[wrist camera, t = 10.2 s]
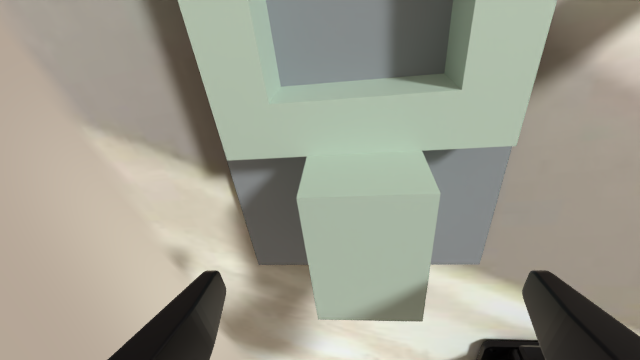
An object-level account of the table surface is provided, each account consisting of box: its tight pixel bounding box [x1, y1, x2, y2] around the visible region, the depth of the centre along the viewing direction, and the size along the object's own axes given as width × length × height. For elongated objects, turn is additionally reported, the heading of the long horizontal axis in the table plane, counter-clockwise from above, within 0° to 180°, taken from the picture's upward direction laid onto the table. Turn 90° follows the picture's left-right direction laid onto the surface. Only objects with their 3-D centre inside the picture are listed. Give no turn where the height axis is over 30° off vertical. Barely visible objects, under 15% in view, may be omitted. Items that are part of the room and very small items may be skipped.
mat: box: [205, 0, 512, 265], centre depth 11 cm, size 20×12×1 cm, turn 6°
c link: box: [178, 0, 557, 321], centre depth 9 cm, size 16×10×4 cm, turn 6°
